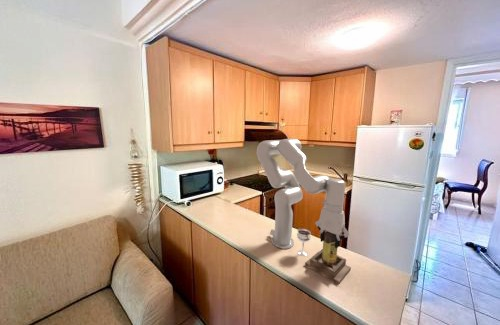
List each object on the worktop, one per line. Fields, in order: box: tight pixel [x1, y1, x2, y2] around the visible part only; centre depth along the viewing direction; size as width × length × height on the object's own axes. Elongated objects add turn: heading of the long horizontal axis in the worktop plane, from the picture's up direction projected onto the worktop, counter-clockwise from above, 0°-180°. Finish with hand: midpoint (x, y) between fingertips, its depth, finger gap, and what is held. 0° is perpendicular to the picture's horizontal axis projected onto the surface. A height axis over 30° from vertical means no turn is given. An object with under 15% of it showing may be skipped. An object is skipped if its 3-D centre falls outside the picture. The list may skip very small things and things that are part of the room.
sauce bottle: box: [322, 231, 338, 266], centre depth 93 cm, size 6×6×20 cm
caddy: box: [304, 248, 352, 285], centre depth 94 cm, size 16×13×4 cm
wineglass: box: [297, 228, 312, 257], centre depth 104 cm, size 7×7×12 cm
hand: (329, 243), depth 93 cm, fingers closed on sauce bottle, 6 cm apart
